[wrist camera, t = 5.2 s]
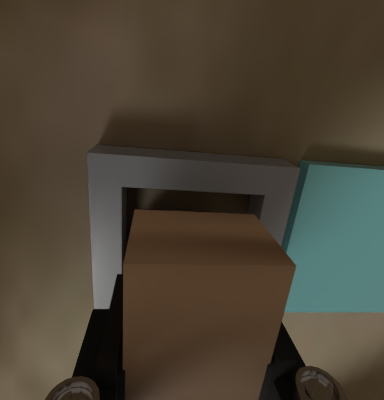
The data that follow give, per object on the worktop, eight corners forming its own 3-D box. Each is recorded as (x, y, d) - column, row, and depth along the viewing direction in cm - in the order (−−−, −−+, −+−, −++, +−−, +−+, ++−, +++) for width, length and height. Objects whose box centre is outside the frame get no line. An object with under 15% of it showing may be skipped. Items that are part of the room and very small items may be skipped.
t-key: (132, 169, 13) (98, 263, 6) (231, 175, 14) (316, 266, 6) (130, 313, 16) (106, 495, 9) (210, 312, 17) (251, 480, 10)
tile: (265, 301, 19) (271, 312, 18) (300, 160, 15) (309, 164, 14) (394, 301, 20) (406, 312, 19) (455, 171, 16) (473, 176, 15)
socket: (102, 300, 17) (94, 325, 15) (97, 144, 14) (86, 152, 12) (251, 301, 18) (261, 324, 17) (283, 158, 15) (300, 167, 13)
